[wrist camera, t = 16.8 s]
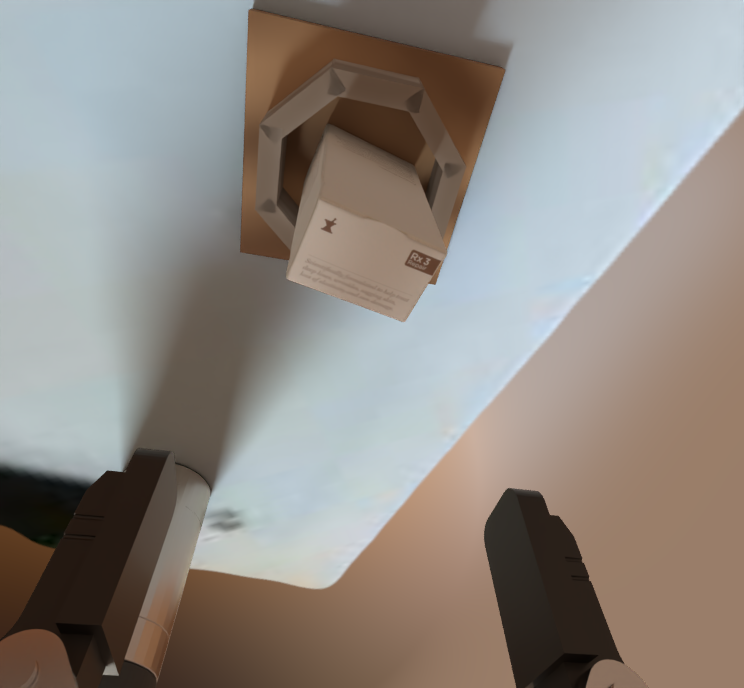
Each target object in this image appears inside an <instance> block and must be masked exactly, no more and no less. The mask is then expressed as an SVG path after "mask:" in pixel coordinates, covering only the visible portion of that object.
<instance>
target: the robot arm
mask: <svg viewBox="0 0 744 688" xmlns="http://www.w3.org/2000/svg"><path fill="white" fill-rule="evenodd" d="M209 498H210V488H209V486H208V484H207V483H206V481H205V480H204V479H203V478H202V477H201V476H200V475H199V474H197V473H195V472H194V471H192V470H190V469H188V468H186V467H184V466H181V465H177V464H175V456H174V453H173V452H170V451H161V450H151V449H142V448H139V449H137V450H136V451H135V453H134V455H133V456H132V459H131V461H130V463H129V465H128V467H127V469H126V470H125V471H124V472H117V471H106V472H105V473H104V474H103V475H102V476H101V477H100V478H99V479H98V480H97V481H96V482H95V483H94V484H92V485H91V486H90V487H89V488H88V489H87V490H86V492H85V494H84V496H83V498H82V500H81V502H80V504H79V505H78V507H77V509H76V511H75V513H74V517H73V519H71V521H70V523H69V525H68V526H67V528H66V530H65V532H64V536H63V538H61V540H60V542H59V544H58V546H57V548H56V549H55V551H54V554H53V555H52V557H51V559H50V561H49V563H48V565H47V567H46V569H45V571H44V572H43V574H42V576H41V578H40V580H39V582H38V584H37V586H36V588H35V590H34V592H33V593H32V595H31V597H30V599H29V601H28V603H27V605H26V607H25V609H24V611H23V612H22V614H21V616H20V617H19V619H18V621H17V622H16V623H15V625H14V626H13V627H12V628H11V630H10V631H9V632H8V633H7V634H6V635H5V636H4V637H2V638H1V639H0V688H155V687H156V684H157V681H158V677H159V674H160V670H161V666H162V663H163V660H164V656H165V653H166V649H167V646H168V641H169V638H170V634H171V631H172V627H173V624H174V620H175V617H176V613H177V610H178V606H179V603H180V599H181V596H182V592H183V589H184V585H185V582H186V578H187V575H188V571H189V568H190V564H191V561H192V557H193V554H194V550H195V547H196V543H197V540H198V536H199V533H200V530H201V526H202V523H203V519H204V516H205V512H206V509H207V505H208V502H209ZM484 541H485V548H486V552H487V557H488V561H489V565H490V570H491V575H492V579H493V584H494V588H495V593H496V597H497V602H498V607H499V611H500V616H501V620H502V625H503V628H504V634H505V638H506V642H507V647H508V652H509V656H510V661H511V665H512V670H513V674H514V679H515V683H516V688H648V686H647V685H646V683H645V682H644V681H643V679H642V678H641V677H640V676H639V675H638V674H637V673H636V672H635V671H633V670H632V669H631V668H630V667H628V666H626V665H625V664H624V662H623V661H622V659H621V657H620V655H619V653H618V651H617V648H616V646H615V643H614V640H613V638H612V635H611V633H610V630H609V627H608V625H607V622H606V620H605V617H604V614H603V612H602V609H601V607H600V604H599V601H598V599H597V596H596V594H595V591H594V588H593V585H592V583H591V581H589V575H588V572H587V570H586V567H585V565H584V563H582V557H581V554H580V551H579V549H578V546H577V544H576V541H575V539H574V536H573V535H572V533H571V532H570V531H569V529H568V528H567V527H566V525H565V524H564V523H563V521H562V520H561V519H560V517H559V516H554V515H550V514H549V512H548V509H547V506H546V503H545V500H544V498H543V496H542V495H541V494H540V493H539V492H538V491H531V490H522V489H512V488H508V489H507V490H506V491H505V492H504V493H503V495H502V497H501V498H500V500H499V502H498V503H497V505H496V507H495V508H494V510H493V511H492V513H491V515H490V516H489V518H488V520H487V522H486V525H485V531H484Z"/></svg>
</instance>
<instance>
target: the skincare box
mask: <svg viewBox="0 0 744 688" xmlns="http://www.w3.org/2000/svg"><path fill="white" fill-rule="evenodd" d="M446 255H447V250H446V247H445V245H444V242H443V240H442V237H441V235H440V232H439V229H438V227H437V224H436V222H435V219H434V216H433V214H432V211H431V209H430V206H429V203H428V201H427V198H426V196H425V193H424V190H423V188H422V185H421V183H420V180H419V177H418V175H417V172H416V169H415V167H414V165H412V164H410V163H408V162H406V161H404V160H402V159H400V158H398V157H396V156H394V155H392V154H390V153H388V152H386V151H384V150H382V149H380V148H378V147H376V146H374V145H372V144H370V143H368V142H366V141H364V140H362V139H360V138H358V137H356V136H354V135H352V134H350V133H348V132H346V131H344V130H342V129H340V128H338V127H336V126H334V125H331V124H327V125H326V127H325V129H324V132H323V134H322V137H321V139H320V142H319V144H318V147H317V149H316V152H315V154H314V157H313V159H312V162H311V164H310V167H309V170H308V172H307V175H306V177H305V180H304V184H303V191H302V196H301V201H300V206H299V211H298V216H297V221H296V226H295V231H294V236H293V241H292V246H291V253H290V259H289V262H288V266H287V272H286V278H287V279H288V280H290V281H293V282H295V283H298V284H301V285H304V286H307V287H309V288H312V289H315V290H318V291H320V292H323V293H326V294H329V295H331V296H334V297H337V298H340V299H342V300H345V301H348V302H351V303H353V304H356V305H359V306H361V307H364V308H367V309H369V310H372V311H375V312H378V313H380V314H383V315H386V316H388V317H391V318H394V319H396V320H399V321H401V322H405V321H406V319H407V318H408V316H409V314H410V313H411V311H412V309H413V308H414V306H415V304H416V303H417V301H418V300H419V298H420V296H421V295H422V293H423V291H424V290H425V288H426V287H427V285H428V283H429V282H430V280H431V279H432V277H433V275H434V274H435V272H436V271H437V269H438V267H439V266H440V264H441V263H442V261H443V260H444V258H445V257H446Z"/></svg>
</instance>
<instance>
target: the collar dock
mask: <svg viewBox="0 0 744 688" xmlns="http://www.w3.org/2000/svg"><path fill="white" fill-rule="evenodd" d="M504 73H505V69H503V68H502V67H498V66H494V65H490V64H485V63H481V62H477V61H473V60H469V59H464V58H460V57H456V56H452V55H447V54H443V53H439V52H435V51H430V50H426V49H422V48H418V47H413V46H409V45H405V44H401V43H396V42H392V41H388V40H384V39H379V38H375V37H371V36H367V35H362V34H358V33H354V32H350V31H346V30H341V29H337V28H333V27H329V26H324V25H320V24H316V23H312V22H307V21H303V20H299V19H295V18H290V17H286V16H282V15H278V14H273V13H269V12H265V11H261V10H256V9H249V12H248V41H247V70H246V99H245V129H244V158H243V187H242V216H241V245H240V252H242V253H248V254H254V255H260V256H266V257H272V258H278V259H284V260H289V259H290V253H291V246H292V241H293V236H294V231H295V226H296V221H297V216H298V211H299V206H300V201H301V196H302V191H303V184H304V180H305V177H306V175H307V172H308V170H309V167H310V164H311V162H312V159H313V157H314V154H315V152H316V149H317V147H318V144H319V142H320V139H321V137H322V134H323V132H324V129H325V127H326V125H327V124H331V125H334V126H336V127H338V128H340V129H342V130H344V131H346V132H348V133H350V134H352V135H354V136H356V137H358V138H360V139H362V140H364V141H366V142H368V143H370V144H372V145H374V146H376V147H378V148H380V149H382V150H384V151H386V152H388V153H390V154H392V155H394V156H396V157H398V158H400V159H402V160H404V161H406V162H408V163H410V164H412V165H414V167H415V169H416V172H417V175H418V177H419V180H420V183H421V185H422V188H423V190H424V193H425V196H426V198H427V201H428V203H429V206H430V209H431V211H432V214H433V216H434V219H435V222H436V224H437V227H438V229H439V232H440V235H441V237H442V240H443V242H444V245H445V247H446V250H447V248H448V245H449V242H450V238H451V235H452V232H453V229H454V226H455V223H456V220H457V217H458V214H459V211H460V208H461V205H462V202H463V199H464V196H465V193H466V189H467V186H468V183H469V180H470V177H471V174H472V171H473V168H474V165H475V162H476V159H477V156H478V153H479V150H480V147H481V144H482V140H483V137H484V134H485V131H486V128H487V125H488V122H489V119H490V116H491V113H492V110H493V107H494V104H495V101H496V98H497V95H498V91H499V88H500V85H501V82H502V79H503V76H504ZM442 263H443V261H442ZM442 263H441V264H440V266H439V267H438V269H437V271H436V272H435V274H434V275H433V277H432V279H431V280H430V282H429V283H428V284H434V285H435V284H436V281H437V278H438V275H439V272H440V269H441V266H442Z"/></svg>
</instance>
